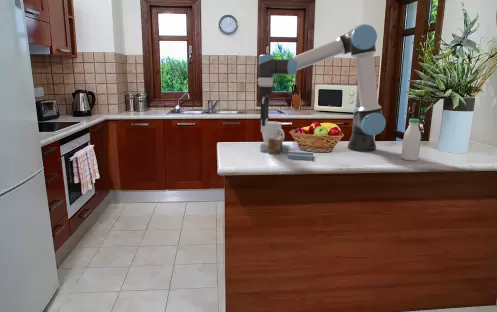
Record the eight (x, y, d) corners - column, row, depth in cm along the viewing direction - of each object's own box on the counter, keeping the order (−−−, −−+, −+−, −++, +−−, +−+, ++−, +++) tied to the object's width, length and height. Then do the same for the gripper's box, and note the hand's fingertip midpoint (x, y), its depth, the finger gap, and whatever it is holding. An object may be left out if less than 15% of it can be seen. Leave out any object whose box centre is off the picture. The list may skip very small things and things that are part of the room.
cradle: (313, 156, 178) (313, 152, 178) (312, 160, 170) (312, 156, 169) (289, 154, 181) (289, 151, 180) (287, 158, 172) (287, 154, 172)
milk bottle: (417, 161, 170) (422, 120, 166) (399, 159, 174) (404, 119, 170) (419, 158, 176) (424, 118, 172) (402, 156, 180) (407, 117, 176)
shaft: (289, 152, 188) (289, 145, 187) (288, 154, 184) (288, 146, 183) (262, 150, 192) (262, 143, 191) (260, 151, 188) (260, 144, 187)
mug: (289, 146, 203) (290, 123, 200) (277, 148, 196) (277, 125, 193) (270, 142, 214) (271, 120, 211) (257, 144, 206) (258, 122, 203)
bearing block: (282, 149, 192) (282, 136, 191) (279, 154, 181) (280, 140, 180) (271, 149, 194) (271, 135, 192) (268, 153, 183) (268, 139, 181)
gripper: (260, 85, 190) (259, 128, 195) (255, 86, 174) (254, 133, 179) (274, 85, 188) (273, 129, 194) (270, 86, 172) (268, 134, 178)
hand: (264, 131), depth 186 cm, fingers open, 3 cm apart
